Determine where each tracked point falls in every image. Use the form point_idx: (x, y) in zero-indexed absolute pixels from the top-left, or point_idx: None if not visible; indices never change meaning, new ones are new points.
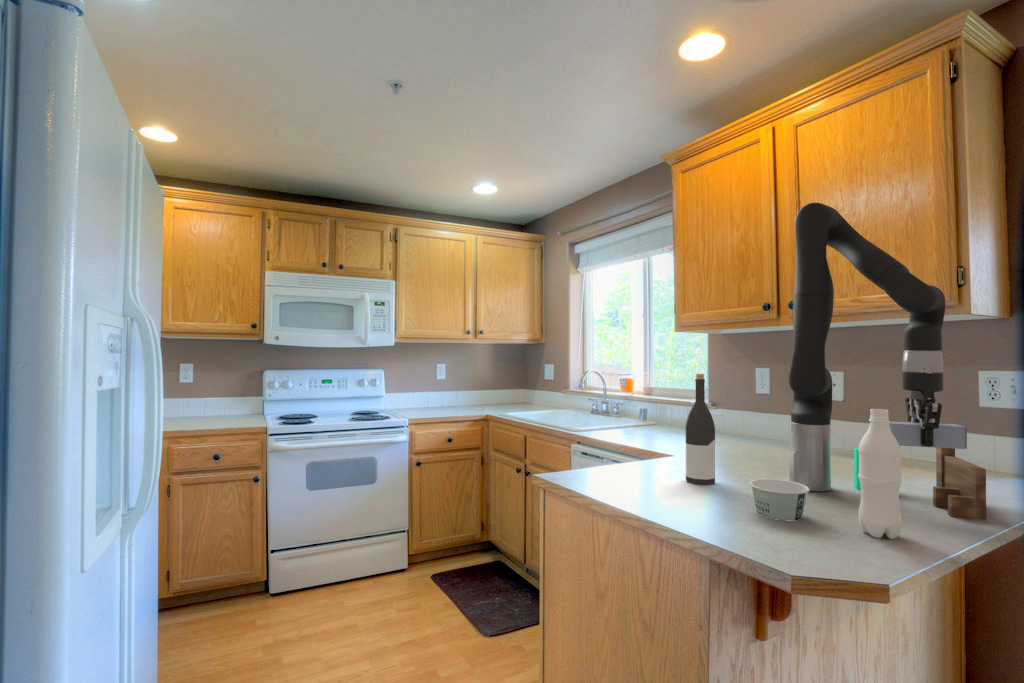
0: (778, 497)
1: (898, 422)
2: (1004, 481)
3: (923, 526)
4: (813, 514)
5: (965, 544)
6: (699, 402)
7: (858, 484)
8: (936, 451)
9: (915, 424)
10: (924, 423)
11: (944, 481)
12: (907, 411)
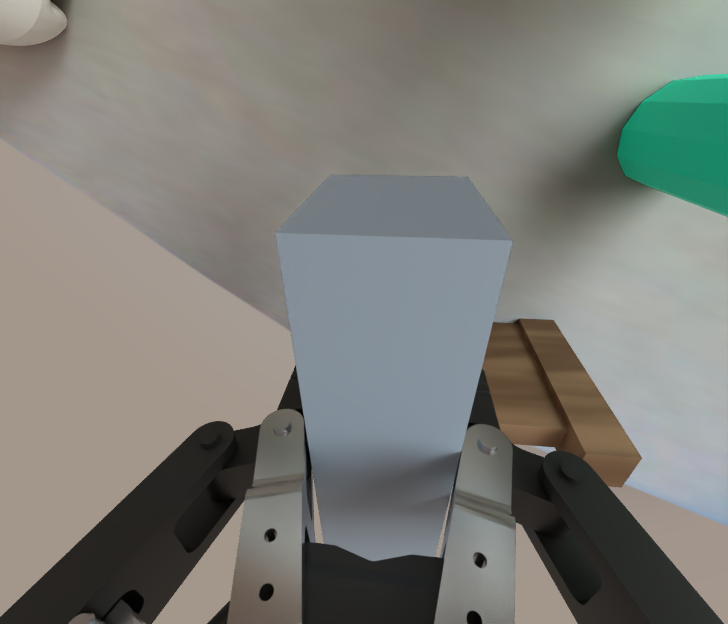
0: None
1: (424, 348)
2: (714, 505)
3: (213, 163)
4: None
5: (113, 207)
6: None
7: (680, 86)
8: (622, 432)
9: (315, 420)
10: (209, 451)
11: (530, 358)
12: (652, 571)
